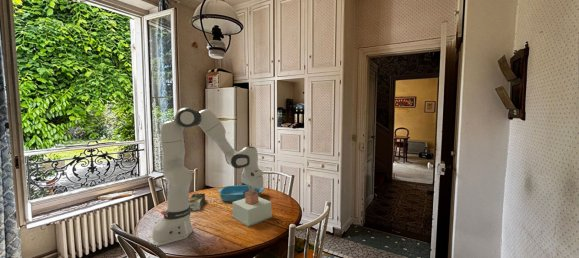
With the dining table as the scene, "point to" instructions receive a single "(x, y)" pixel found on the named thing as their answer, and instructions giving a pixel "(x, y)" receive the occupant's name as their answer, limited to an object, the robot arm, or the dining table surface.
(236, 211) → the housing
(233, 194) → the casserole dish
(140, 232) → the dining table surface
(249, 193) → the plunger
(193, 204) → the juice carton
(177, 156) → the robot arm
